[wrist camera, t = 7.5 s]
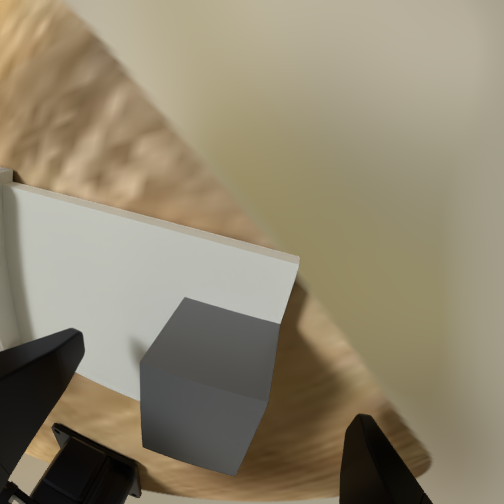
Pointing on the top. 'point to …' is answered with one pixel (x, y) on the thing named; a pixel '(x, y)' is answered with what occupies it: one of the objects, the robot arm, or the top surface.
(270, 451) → the top surface
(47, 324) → the grey board with frame
